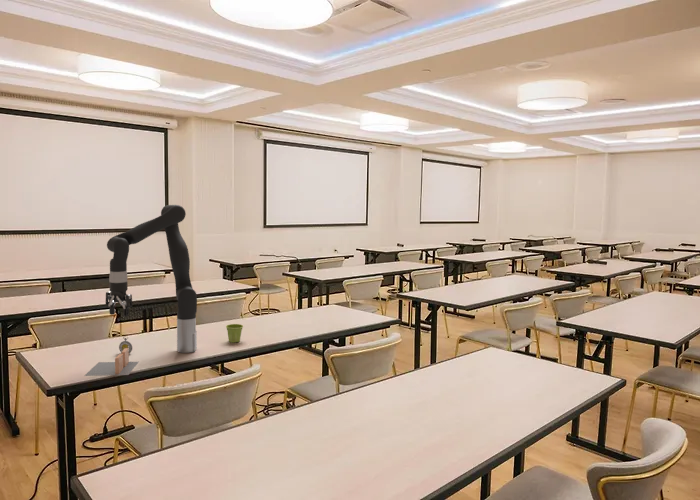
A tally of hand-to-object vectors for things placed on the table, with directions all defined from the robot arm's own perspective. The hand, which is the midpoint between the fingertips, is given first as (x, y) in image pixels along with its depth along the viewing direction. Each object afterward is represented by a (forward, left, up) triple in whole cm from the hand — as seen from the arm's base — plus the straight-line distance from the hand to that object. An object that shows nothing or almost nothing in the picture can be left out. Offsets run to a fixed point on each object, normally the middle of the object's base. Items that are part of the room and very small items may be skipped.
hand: (119, 315), depth 232 cm
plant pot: (-50, -37, -24) cm, 66 cm away
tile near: (-4, +13, -22) cm, 26 cm away
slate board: (0, +9, -24) cm, 25 cm away
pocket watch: (+1, -11, -24) cm, 26 cm away
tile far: (-4, +4, -22) cm, 23 cm away
